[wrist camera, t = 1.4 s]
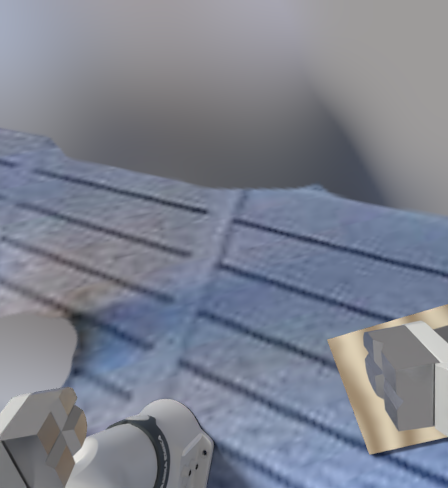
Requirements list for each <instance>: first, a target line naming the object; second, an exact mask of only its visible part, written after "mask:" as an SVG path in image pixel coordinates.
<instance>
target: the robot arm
mask: <svg viewBox="0 0 448 488" xmlns="http://www.w3.org/2000/svg"><path fill="white" fill-rule="evenodd" d="M363 344H364V347H365V348H366V350H367V351H368V355H367V356H366V358H365V366H366V372H367V375H368V379H369V382H370V384H371V386H372V388H373V390H374V392H375V393H376V395H377V396H378V397H380V398H382V399H384V404H385V410H386V412H387V414H388V415H389V417H390V419H391V420H392V422H393V424H394V425H395V427H396V428H397V430H398V431H405V430H412V429H420V428H427V427H434V426H435V429H437V430H438V431H440V432H441V433H443V434H444V435H446V436H447V437H448V343H447V342H446V341H445V340H444V339H443V338H442V337H441V336H439V335H438V334H437V333H436V332H435V331H434V330H433V329H432V328H431V327H430V326H429V325H428V324H426V323H425V322H423V321H416V322H411V323H407V324H402V325H400V326H395V327H390V328H385V329H379V330H374V331H369V332H364V335H363ZM76 400H77V396H76V394H75V392H74V390H73V388H70V387H64V388H58V389H51V390H45V391H39V392H34V393H28V394H22V395H17V396H15V397H14V398H12V399H11V400H10V401H9V403H8V404H7V405H6V407H5V408H4V409H3V410H2V412H1V413H0V488H206V486H207V481H208V475H209V470H210V464H211V459H212V454H213V448H214V443H213V441H212V439H211V438H210V437H209V436H208V435H207V434H206V433H205V432H204V431H203V430H202V429H201V428H200V426H199V424H198V422H197V420H196V419H195V417H194V415H193V414H192V413H191V411H190V410H189V409H188V408H187V407H185V406H184V405H183V404H181V403H179V402H177V401H175V400H170V399H161V400H157V401H154V402H152V403H150V404H149V405H147V406H146V407H145V408H144V409H143V410H142V411H141V412H140V413H139V414H138V415H134V416H131V417H128V418H126V419H124V420H122V421H119V422H117V423H115V424H113V425H111V426H109V427H108V428H107V429H106V430H104V431H101V432H99V433H96V434H94V435H91V436H89V437H86V432H87V422H86V417H85V414H84V412H83V410H82V409H80V408H79V407H77V406H76V405H75V403H76ZM204 450H206V452H207V455H206V454H204Z"/></svg>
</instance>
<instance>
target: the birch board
mask: <svg viewBox="0 0 448 488" xmlns="http://www.w3.org/2000/svg"><path fill="white" fill-rule="evenodd" d="M416 321H423V322H425V323H426V324H428V325H429V326H430V327H431V328H432V329H435V328H439V327H442V326H446V325H448V304H447V305H444V306H440V307H437V308H434V309H430V310H427V311H423V312H420V313H416V314H413V315H410V316H406V317H403V318H399V319H396V320H393V321H389V322H386V323H382V324H379V325H376V326H372V327H369V328H365V329H362V330H359V331H355V332H352V333H348V334H345V335H342V336H338V337H335V338H331V339H328V343H329V346H330V349H331V351H332V354H333V357H334V359H335V362H336V365H337V368H338V370H339V373H340V376H341V378H342V381H343V384H344V387H345V389H346V392H347V395H348V397H349V400H350V403H351V406H352V408H353V411H354V414H355V416H356V419H357V422H358V425H359V427H360V430H361V433H362V435H363V438H364V441H365V444H366V446H367V449H368V452H369V454H375V453H379V452H384V451H388V450H392V449H397V448H401V447H406V446H410V445H415V444H419V443H423V442H428V441H432V440H437V439H441V438H446V437H447V436H446V435H444V434H443V433H441V432H440V431H438V430H437V429H435V426H434V427H427V428H420V429H412V430H405V431H398V430H397V428H396V427H395V425H394V424H393V422H392V420H391V419H390V417H389V415H388V414H387V412H386V410H385V404H384V399H382V398H380V397H378V396H377V395H376V393H375V392H374V390H373V388H372V386H371V384H370V382H369V379H368V375H367V372H366V366H365V358H366V356H367V355H368V351H367V350H366V348H365V347H364V344H363V335H364V332H369V331H374V330H379V329H385V328H390V327H395V326H400V325H402V324H407V323H411V322H416Z"/></svg>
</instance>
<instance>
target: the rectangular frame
mask: <svg viewBox="0 0 448 488" xmlns="http://www.w3.org/2000/svg"><path fill="white" fill-rule="evenodd" d="M433 330H434V331H435V332H436V333H437V334H438V335H439V336H441V337H442V338H443V339H444V340H445V341H446V342H447V343H448V325H446V326H442V327H439V328H435V329H433Z"/></svg>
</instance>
